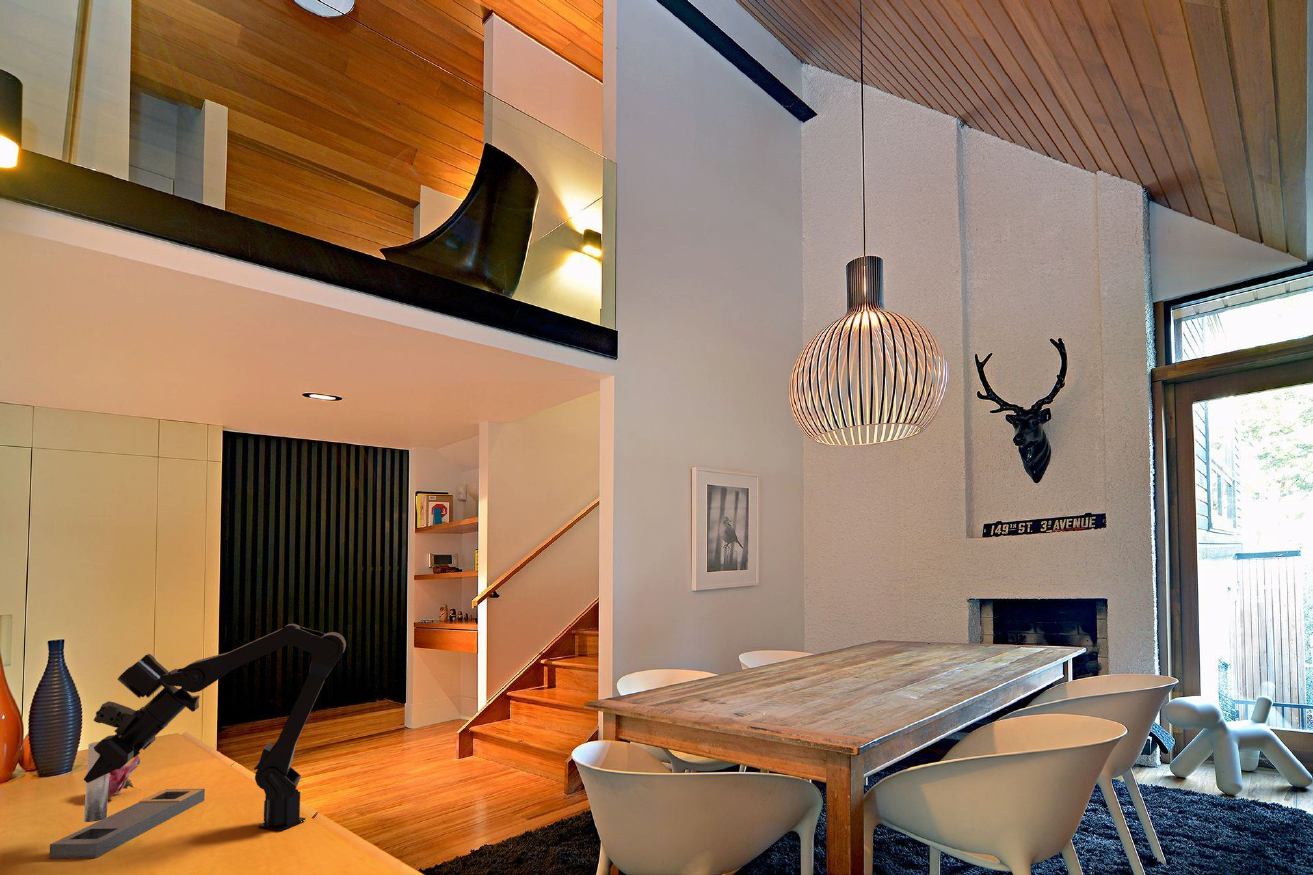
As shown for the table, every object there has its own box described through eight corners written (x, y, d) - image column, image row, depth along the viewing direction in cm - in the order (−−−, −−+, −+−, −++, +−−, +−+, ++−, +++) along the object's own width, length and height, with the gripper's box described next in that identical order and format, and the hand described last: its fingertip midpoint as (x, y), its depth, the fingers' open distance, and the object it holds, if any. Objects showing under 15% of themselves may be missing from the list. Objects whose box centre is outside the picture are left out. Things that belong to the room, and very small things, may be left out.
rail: (96, 857, 147) (97, 842, 148) (49, 858, 148) (50, 842, 148) (204, 800, 180) (204, 787, 180) (165, 800, 180) (166, 788, 181)
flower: (93, 820, 178) (68, 783, 179) (113, 809, 188) (89, 775, 188) (142, 785, 182) (117, 749, 182) (159, 776, 191) (135, 742, 192)
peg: (111, 816, 154) (115, 741, 156) (91, 822, 151) (96, 745, 153) (98, 814, 156) (103, 740, 157) (79, 820, 152) (84, 744, 154)
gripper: (140, 679, 166) (75, 739, 162) (109, 694, 149) (35, 763, 144) (181, 714, 168) (118, 775, 163) (155, 734, 150) (83, 803, 145)
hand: (89, 778), depth 154 cm, fingers closed on peg, 4 cm apart
